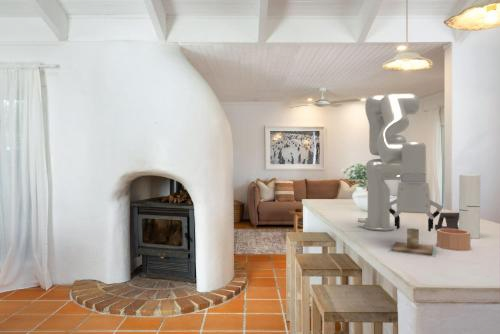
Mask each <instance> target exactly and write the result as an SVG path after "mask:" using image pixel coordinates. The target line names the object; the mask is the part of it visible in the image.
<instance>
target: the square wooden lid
mask: <svg viewBox="0 0 500 334" xmlns="http://www.w3.org/2000/svg"><path fill="white" fill-rule="evenodd" d="M419 231H420V230H419V229H418V228H407V229H406V242H404V241H403V242H402V241H395V242H394V243H395V244H394V246H393V247H392V249H391V251H394V252H393V253H395V252H403V253H402V254H404V253H411V254H410V255H412V254H420V255H419V256H421V255H429V256H432V253H433V247H434V245H431V244H430V245H429V244H421V243H419V242H420V238H419V237H420V232H419ZM429 256H428V257H429Z"/></svg>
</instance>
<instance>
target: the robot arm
mask: <svg viewBox="0 0 500 334" xmlns="http://www.w3.org/2000/svg"><path fill="white" fill-rule="evenodd" d="M364 107H365V108H364V109H365V114H366V118H367V121H368V125H369V126H368V127H369V130H368V131H369V132H368V133H369V134H368V135H369V138H368V139H369V141H368V142H369V143H368V144H369V145H368V148H369V152H370V154H371V155H373V156H376V157H377V156H378V157H379V158H373V159H370V160H368V161H367V162H366V164H365V174H366V181H367V184H366V185H367V217H365V218H361V217H359V218H358V219H357V223H361V224H364V225H363V228H364V229H365V230H369V231H377V232H380V231H381V232H386V231H387V232H388V231H393V230H394V227H396V230H399V229H400V227H401V224H400V222H401V217H400V214H401V213H407V214H425V215H426V216H427V217H428V220H427V232H430V233H431V232H432V230H433V229H434V219H435V218H437V216H440V213H442V212H441V211H443V208H444V207H443V205H441V204H440V203H437V202H436V201H433V200H432V199H431V191H430V185H429V183H428V182H426V181H427V163H426V162H427V160H426V159H427V151H426V150H427V146H426V144H425V142H422V141H409V142H408V141H407V139H406V137H405V136H404V135H402V134H401V133H403V132H404V131H406V129H407V128H408V127H409V125H410V121H409V118H408V115H410V116H411V115H416V114H417V113H418V111H419V109H420V100H419V97H418V96H417V95H416V94H415V93H413V92H411V93H410V92H409V93H408V92H407V93H406V92H405V93H403V92H402V93H399V92H398V93H388V94H374V95H371V96H368V97H367V98H366V100H365V106H364ZM385 181H401V182H398V185H397V190H396V191H397V192H396V199H394V200H391V190H390V187H389V186H388V184H387V183H386V182H385ZM395 204H396V211H395V209H393V207H392V206H394V205H395ZM431 206H433V207H435V208H436V210H435V211H434V212H433V213H432V212H431ZM391 214H392V216H393V217H394V226H392V224H390V221H391V218H390V217H391Z"/></svg>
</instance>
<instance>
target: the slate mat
mask: <svg viewBox="0 0 500 334" xmlns="http://www.w3.org/2000/svg"><path fill="white" fill-rule="evenodd" d="M394 244H395V242H393V243H392V245H391V246H390V247H389V248H388V250H387V252H389V253H397V254H405V255H414V256H421V257H431V258H436V257H437V249H438V248H437V247H434V246H433V253H432V256H429V255H420V254H411V253H403V252H394V251H391V249H392V247H393V246H394Z"/></svg>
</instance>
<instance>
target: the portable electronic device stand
mask: <svg viewBox="0 0 500 334" xmlns="http://www.w3.org/2000/svg"><path fill="white" fill-rule="evenodd" d="M444 219H445V225H446V226H445V225H443V224H444ZM434 229H435V230H436V231H437V229H459V212H440V213H439V217H438V221H437V224H434Z"/></svg>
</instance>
